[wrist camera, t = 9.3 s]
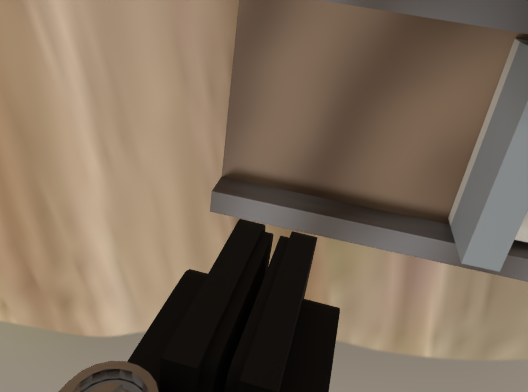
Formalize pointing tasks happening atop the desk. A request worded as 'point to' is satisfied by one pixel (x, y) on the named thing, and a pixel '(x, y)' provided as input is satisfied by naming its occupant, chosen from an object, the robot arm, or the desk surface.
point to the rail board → (364, 117)
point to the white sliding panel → (497, 174)
